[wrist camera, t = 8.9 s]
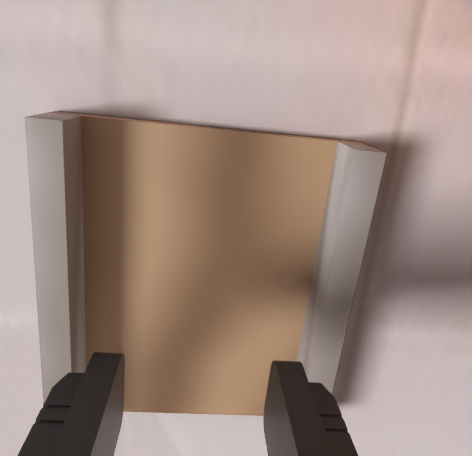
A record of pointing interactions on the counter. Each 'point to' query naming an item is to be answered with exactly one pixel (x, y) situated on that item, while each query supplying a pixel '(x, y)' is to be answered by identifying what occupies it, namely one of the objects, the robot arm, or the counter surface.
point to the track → (194, 254)
